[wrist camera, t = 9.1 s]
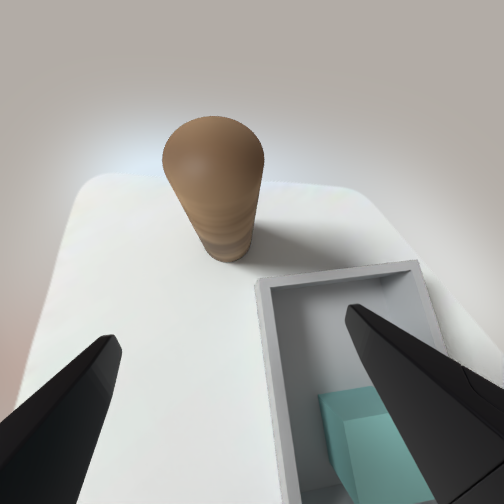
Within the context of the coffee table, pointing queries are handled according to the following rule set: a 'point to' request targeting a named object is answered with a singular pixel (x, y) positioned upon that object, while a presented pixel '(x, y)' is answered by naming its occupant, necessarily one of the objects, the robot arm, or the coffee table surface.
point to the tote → (327, 358)
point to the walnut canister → (217, 181)
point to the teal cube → (369, 449)
